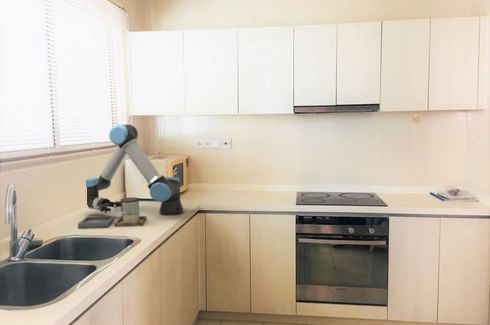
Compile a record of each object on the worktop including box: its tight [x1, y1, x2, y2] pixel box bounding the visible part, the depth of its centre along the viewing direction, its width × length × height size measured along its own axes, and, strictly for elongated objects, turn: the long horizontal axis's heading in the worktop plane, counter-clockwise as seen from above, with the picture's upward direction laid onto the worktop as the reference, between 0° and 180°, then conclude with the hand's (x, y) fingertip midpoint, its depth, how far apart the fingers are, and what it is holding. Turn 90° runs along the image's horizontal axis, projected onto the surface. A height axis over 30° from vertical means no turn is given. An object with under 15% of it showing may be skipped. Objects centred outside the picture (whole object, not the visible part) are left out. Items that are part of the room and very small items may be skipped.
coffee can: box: [119, 196, 141, 223], centre depth 237 cm, size 10×10×14 cm
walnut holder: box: [113, 215, 148, 228], centre depth 237 cm, size 15×15×2 cm
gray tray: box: [77, 215, 115, 230], centre depth 235 cm, size 16×16×3 cm
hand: (124, 208), depth 239 cm, fingers open, 13 cm apart
